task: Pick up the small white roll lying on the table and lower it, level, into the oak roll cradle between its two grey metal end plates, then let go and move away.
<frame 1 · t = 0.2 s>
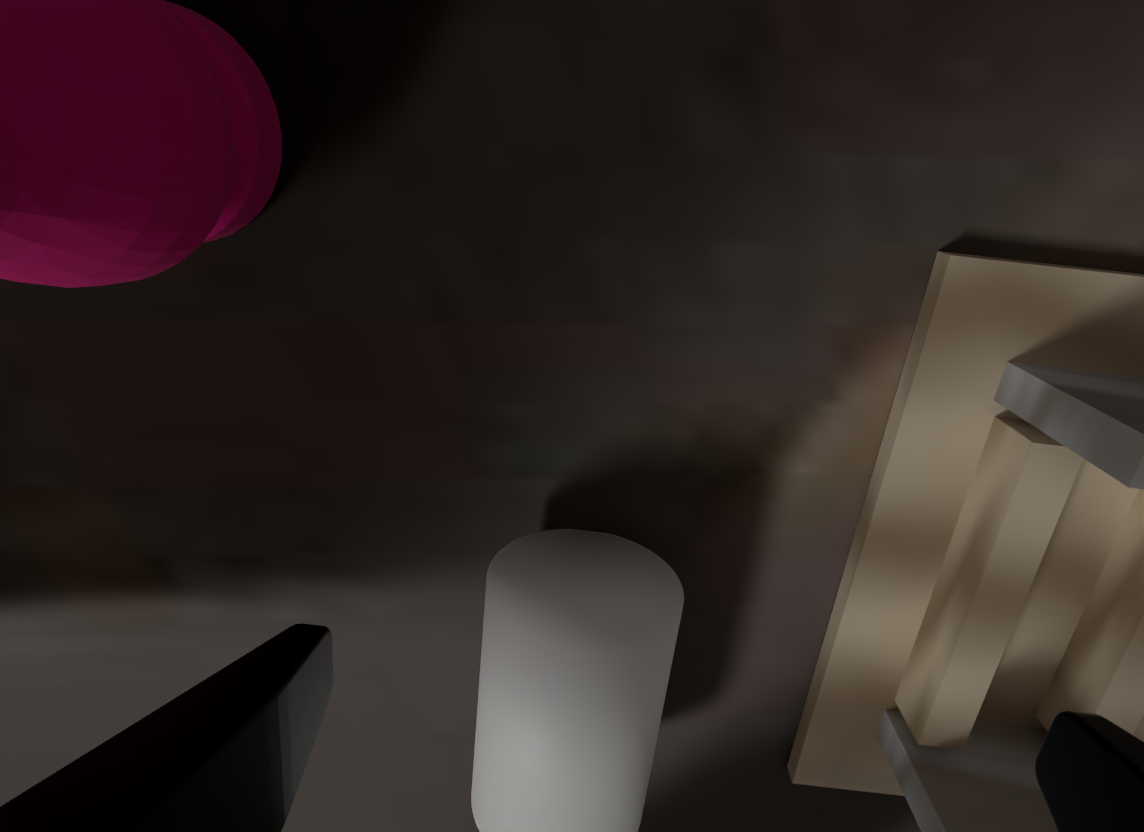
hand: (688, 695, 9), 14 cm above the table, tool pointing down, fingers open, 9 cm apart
roll holder: (1025, 568, 24), on the table
pepper mill: (179, 128, 20), on the table
roll: (572, 635, 26), on the table
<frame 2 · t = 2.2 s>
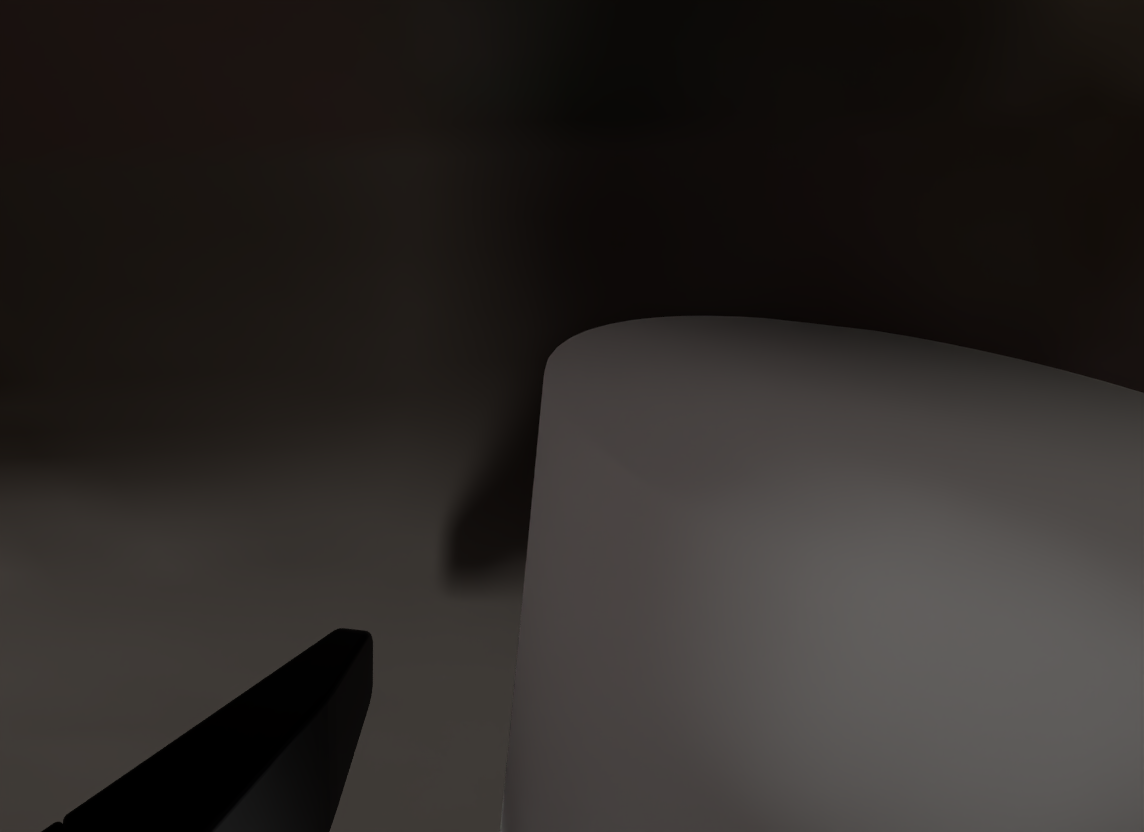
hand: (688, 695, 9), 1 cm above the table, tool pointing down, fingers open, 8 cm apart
roll: (677, 633, 10), on the table, tilted 18°, touching gripper
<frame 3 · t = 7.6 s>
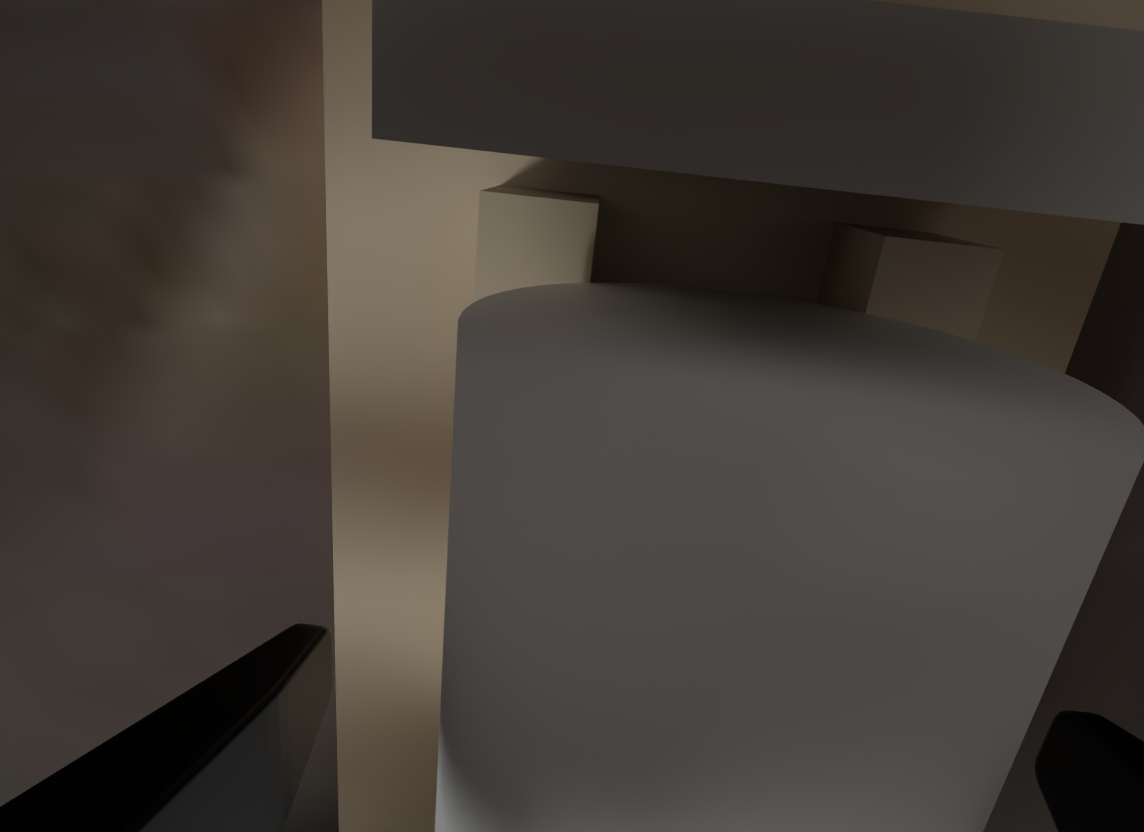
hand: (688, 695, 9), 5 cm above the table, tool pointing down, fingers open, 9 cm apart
roll holder: (659, 504, 13), on the table
roll: (671, 567, 11), point 2 cm above the table, touching roll holder
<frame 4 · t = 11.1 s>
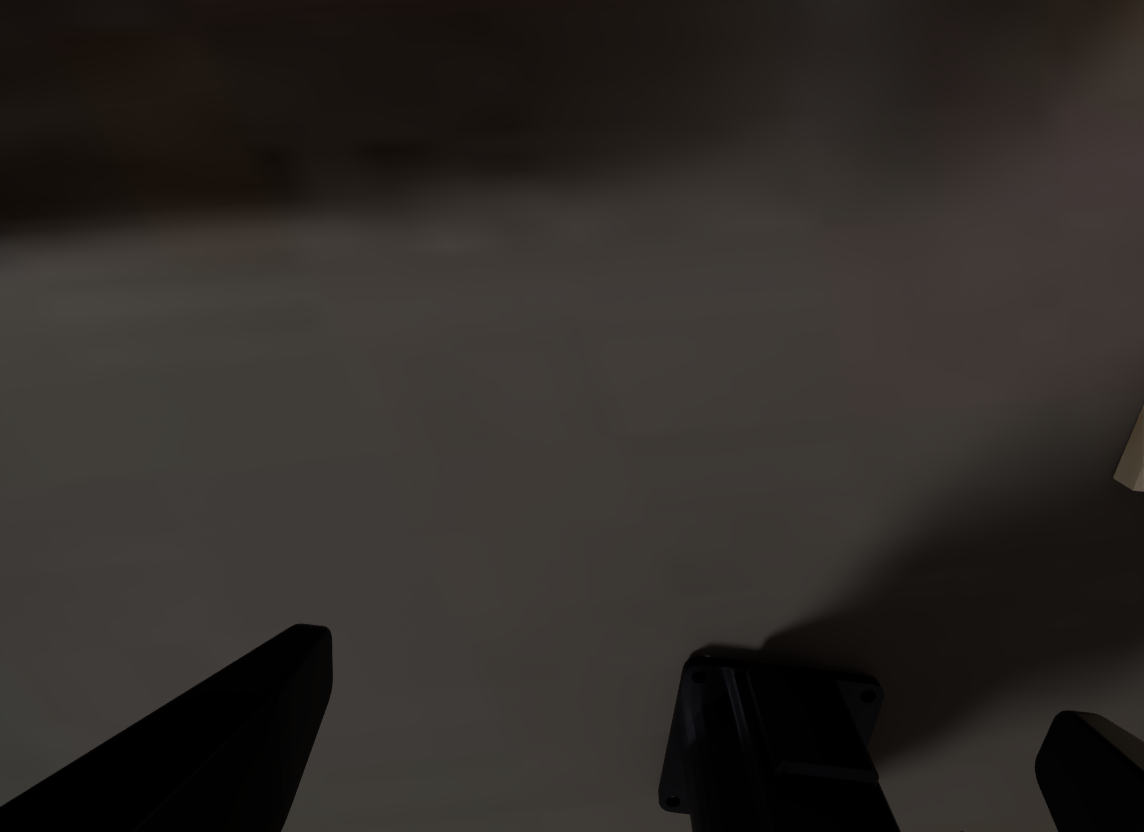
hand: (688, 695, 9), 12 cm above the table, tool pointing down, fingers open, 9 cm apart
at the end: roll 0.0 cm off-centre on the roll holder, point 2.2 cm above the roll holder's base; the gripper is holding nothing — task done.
